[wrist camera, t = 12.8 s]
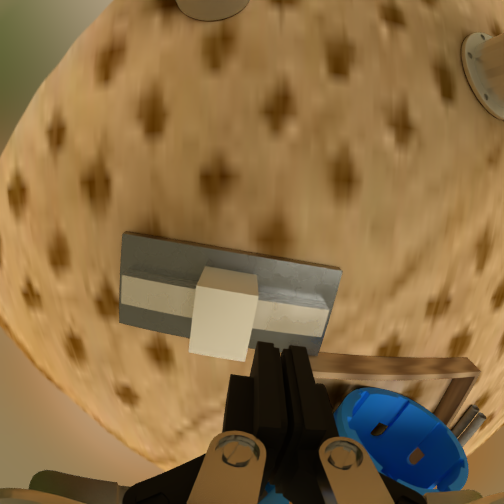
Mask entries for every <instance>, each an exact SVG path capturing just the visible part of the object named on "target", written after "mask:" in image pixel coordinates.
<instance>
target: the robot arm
mask: <svg viewBox="0 0 504 504" xmlns="http://www.w3.org/2000/svg"><path fill="white" fill-rule="evenodd" d="M462 63H463V67H464V71H465V74H466V77H467V79H468V82H469V84H470V86H471V88H472V90H473V92H474V93H475V95H476V97H477V98H478V100H479V101H480V102H481V104H482V105H483V106H484V107H485V109H486V110H487V111H488V112H489V113H491V114H492V115H493V116H494V117H496V118H498V119H500V120H504V33H503V34H500V35H498V36H495V37H492V36H490V35H488V34H485V33H481V32H476V33H473V34H471V35H469V36H468V37H466V38H465V40H464V42H463V45H462ZM268 480H269V483H270V485H275V493H278V494H283V497H284V498H286V499H287V500H288V501H290V502H289V504H504V492H500V493H496V494H493V495H489V496H486V497H482V495H481V494H480V493H478V492H477V491H475V490H460V491H448V492H431V493H425V494H424V495H423V496H422V495H421V494H420V493H418V492H417V491H415V490H413V489H411V488H409V487H407V486H405V485H403V484H401V483H399V482H397V481H395V480H393V479H391V478H389V477H387V476H386V475H384V474H382V473H380V472H378V471H377V469H376V467H375V465H374V463H373V462H372V460H371V458H370V456H369V454H368V452H367V451H366V449H365V448H364V447H363V445H361V444H360V443H359V442H357V441H355V440H353V439H351V438H347V437H339V433H338V430H337V426H336V422H335V419H334V415H333V412H332V408H331V405H330V401H329V398H328V394H327V391H326V388H325V385H323V384H315V380H314V376H313V372H312V368H311V364H310V361H309V357H308V353H307V349H306V347H303V346H294V345H290V346H289V347H288V349H285V348H283V350H282V353H281V357H280V350H279V348H276V347H274V343H270V342H262V341H257V345H256V349H255V354H254V359H253V364H252V368H251V373H250V377H247V376H240V375H233V374H231V375H230V381H229V387H228V393H227V399H226V406H225V413H224V422H223V430H222V433H220V434H218V435H217V436H216V437H214V438H213V440H212V441H211V443H210V445H209V447H208V450H207V453H206V454H204V455H202V456H199V457H197V458H195V459H193V460H191V461H189V462H187V463H185V464H182V465H180V466H178V467H176V468H174V469H171V470H169V471H167V472H164V473H162V474H160V475H157V476H155V477H152V478H150V479H147V480H145V481H142V482H139V483H137V484H135V485H133V486H131V487H127V486H119V485H118V483H117V482H110V481H103V480H97V479H90V478H85V477H80V476H75V475H71V474H66V473H62V472H58V471H53V470H44V471H40V472H38V473H36V474H35V475H34V476H33V477H32V479H31V481H30V485H29V489H21V488H0V504H257V502H258V498H259V497H260V496H262V494H263V491H264V489H265V487H266V485H267V482H268Z"/></svg>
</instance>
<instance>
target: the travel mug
mask: <svg viewBox="0 0 504 504" xmlns="http://www.w3.org/2000/svg"><path fill="white" fill-rule="evenodd" d="M176 2H177V4H178V7H179V8H180V10H181V11H182V12H183V13H184V14H186V15H187V16H189V17H191V18H194V19H198V20H206V21H212V20H220V19H224V18H227V17H230V16H232V15H234V14H236V13H238V12H239V11H241V10H242V9H243V8H244V7H245V6H246V5H247V4H248V2H249V0H176Z"/></svg>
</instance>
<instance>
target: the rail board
mask: <svg viewBox="0 0 504 504" xmlns="http://www.w3.org/2000/svg"><path fill="white" fill-rule="evenodd" d="M205 266H208V267H214V268H220V269H225V270H231V271H237V272H243V273H249V274H254V275H257V282H258V293H259V298H258V302H257V307H256V312H255V317H254V322H253V326H252V331H251V336H250V340H249V345H248V348H252V349H256V345H257V341H262V342H270V343H274V347H276V348H279V350H280V352H282V350H283V348H285V349H288V347H289V346H290V345H294V346H303V347H306V349H307V353H308V355H311V356H318V353H319V350H320V347H321V344H322V341H323V337H324V334H325V331H326V328H327V324H328V321H329V318H330V314H331V311H332V308H333V304H334V301H335V297H336V293H337V290H338V286H339V282H340V279H341V275H342V270H341V269H340V268H339V267H334V266H328V265H322V264H316V263H310V262H305V261H299V260H293V259H287V258H281V257H275V256H269V255H263V254H258V253H252V252H246V251H240V250H234V249H228V248H222V247H217V246H211V245H205V244H199V243H193V242H187V241H181V240H176V239H170V238H164V237H158V236H152V235H146V234H140V233H135V232H129V231H126V232H124V233H123V235H122V249H121V267H120V298H119V323H122V324H126V325H130V326H135V327H139V328H143V329H148V330H152V331H157V332H161V333H166V334H171V335H176V336H181V337H186V338H190V334H191V325H192V317H193V308H194V300H195V292H196V285H197V283H198V281H199V279H200V276H201V274H202V272H203V270H204V268H205Z"/></svg>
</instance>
